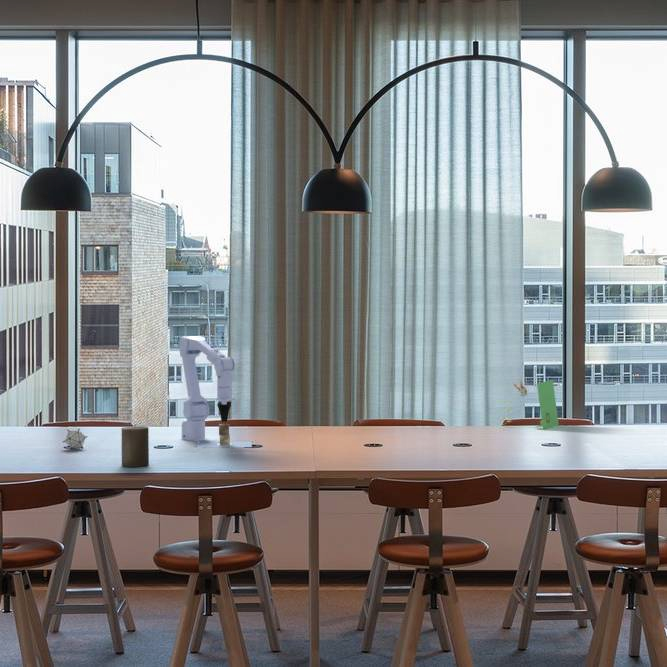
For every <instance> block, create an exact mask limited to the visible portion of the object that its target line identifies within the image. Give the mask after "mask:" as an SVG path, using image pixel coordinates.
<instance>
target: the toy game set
mask: <svg viewBox="0 0 667 667" xmlns="http://www.w3.org/2000/svg"><path fill="white" fill-rule="evenodd" d="M513 386H514V387H515V388H516V389H517V390H518V392H520V394H519V397H521V398H526V396H528V394H527V393H528V390H527V388H526V387H525V386H524V385H523V382H522V379H521V378H520V384H519V386H520V387H518V386H517V384H516V383H513ZM536 386H537V394H538V401H539V410H540V418H541V420H539V425H536V426H534V429H535V428H542V431H545V430H548V429H551V428H553V427H557V426H559V417H558V409H557V402H556V394H555V387H554V380H548V381H543V382H538V383H536ZM504 387H505V388H508V387H510V385H505V386H504ZM498 402H499V403H502V402H505V401H504V400H500V401H498ZM509 403H511V401H508V402H505V404H509ZM509 409H511V407H509ZM509 409H506V410H505V412H509V413H514V411H509ZM504 418H505V417H503V416H501V417H500V419H502V421H504ZM505 420H508V421H506V423H511V422H512V420H511V417H507V418H505ZM509 420H510V421H509ZM503 425H505V424H504V423H501V424H500V423H499V426H503Z"/></svg>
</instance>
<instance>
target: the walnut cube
mask: <svg viewBox="0 0 667 667" xmlns="http://www.w3.org/2000/svg"><path fill="white" fill-rule="evenodd" d="M229 434H230V424H229V423H219V424H218V436H220V435H229Z"/></svg>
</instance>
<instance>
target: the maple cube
mask: <svg viewBox="0 0 667 667" xmlns="http://www.w3.org/2000/svg"><path fill="white" fill-rule="evenodd" d="M219 442H220V445H230V442H231V433H229V435H219Z"/></svg>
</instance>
